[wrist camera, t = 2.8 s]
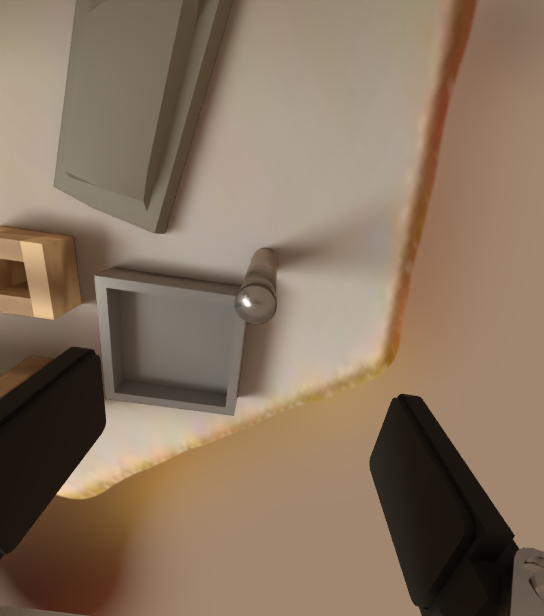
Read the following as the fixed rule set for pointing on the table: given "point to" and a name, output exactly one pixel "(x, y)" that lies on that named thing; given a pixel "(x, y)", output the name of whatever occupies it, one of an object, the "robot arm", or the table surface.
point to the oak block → (37, 273)
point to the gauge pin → (258, 289)
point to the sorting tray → (169, 340)
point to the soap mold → (135, 102)
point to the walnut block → (21, 373)
